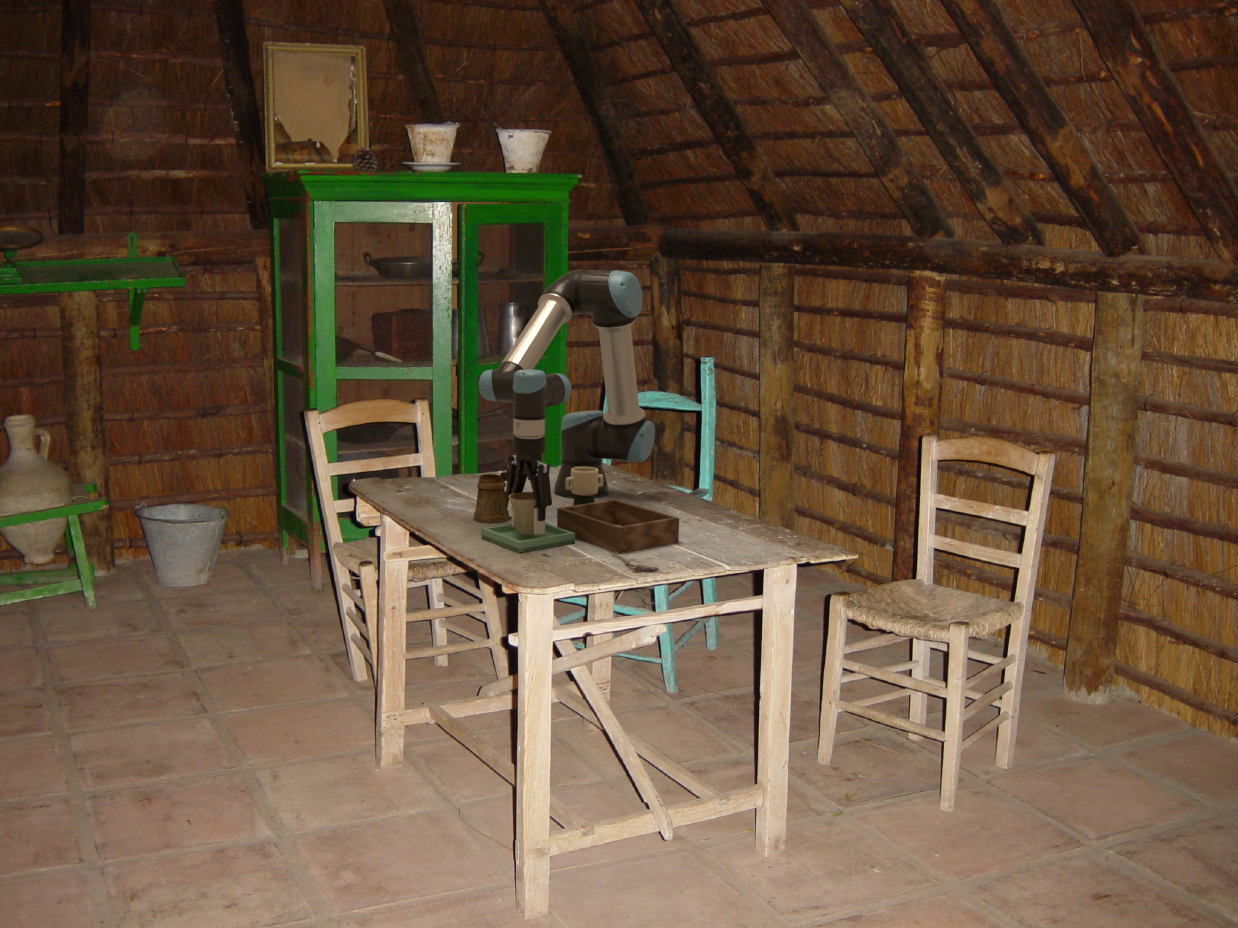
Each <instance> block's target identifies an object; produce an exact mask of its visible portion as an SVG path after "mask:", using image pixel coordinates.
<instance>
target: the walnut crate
mask: <svg viewBox="0 0 1238 928" xmlns="http://www.w3.org/2000/svg"><path fill="white" fill-rule="evenodd" d="M556 517H557V518H556V527H559V528H562V529H565V530H568V531H571V532H574V533H575V540H578V541H579V540H580V541H582V542H585V543H588V544H590V545H593V546H596V547H598V546H599V547H598V548H601V549H604V548H605V549H604V550H607V549H609V550H608V551H611V552H613V551H614V552H613V553H616V552H618V553H620V554H623V553H622V552H625V553H629V552H628V551H630V552H634V551H640V550H639V549H641V550H645V548H646V549H650V548H656V547H655V546H657V547H661V545H662V546H666V545H672V544H671V543H673V544H676V543H679V540H680V539H679V537H680V517H678V516H674V515H669V514H667V513H663V512H661V511H656V510H653V509H651V508H647V507H643V506H641V505H640V506H639V505H636V504H633V503H630V502H626V501H623V500H619V499H609V500H602V501H596V502H595V503H588V504H582V505H575V506H573V505H571V506H570V505H569V506H564V507H557V509H556ZM618 553H617V554H618Z"/></svg>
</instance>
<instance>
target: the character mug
mask: <svg viewBox="0 0 1238 928" xmlns="http://www.w3.org/2000/svg"><path fill="white" fill-rule="evenodd" d="M598 478H600V480H599V483H598ZM569 481H570V486H569ZM601 486H603V475H602V474H598V469H597V468H594V467H574V468H572V469H571V477H567V478H566V484H565V487H566V490H571V492H572V493H573V494H576V496H575V498H574V497H573V503H572V506H575V505H582V504H588V503H595V497H593V496H592V495H594V494H597V492H598V487H601Z"/></svg>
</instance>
